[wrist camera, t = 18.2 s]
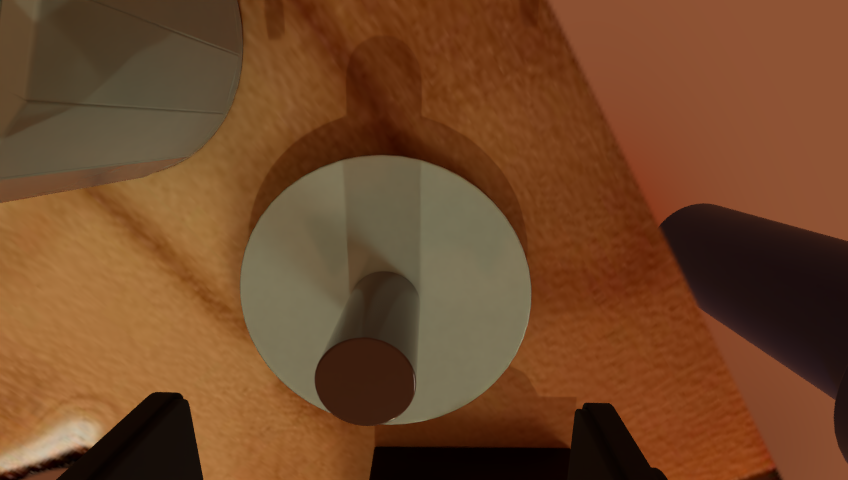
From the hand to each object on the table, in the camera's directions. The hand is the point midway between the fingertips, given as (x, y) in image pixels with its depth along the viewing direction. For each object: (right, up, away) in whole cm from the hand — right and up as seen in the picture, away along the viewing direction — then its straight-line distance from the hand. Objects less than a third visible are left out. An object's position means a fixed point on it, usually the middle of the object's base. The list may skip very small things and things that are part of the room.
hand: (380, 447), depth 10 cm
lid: (-1, +2, +8) cm, 8 cm away
